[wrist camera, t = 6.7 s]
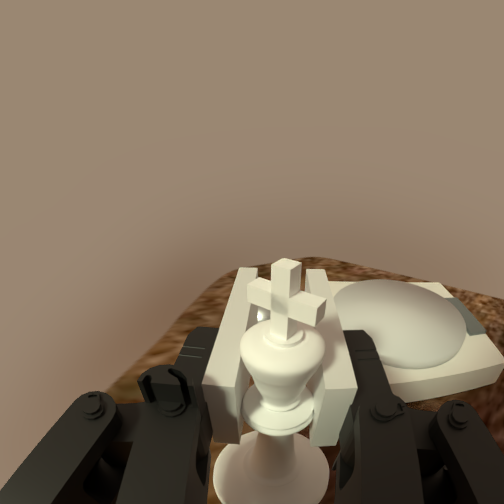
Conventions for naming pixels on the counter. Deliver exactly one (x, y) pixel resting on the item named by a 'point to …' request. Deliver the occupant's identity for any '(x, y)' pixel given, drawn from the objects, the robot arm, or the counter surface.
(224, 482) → the chess piece
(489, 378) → the scale
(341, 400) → the robot arm
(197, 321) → the counter surface
